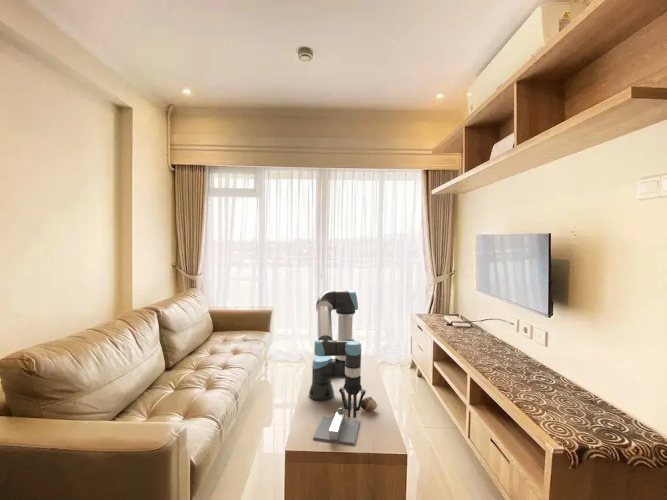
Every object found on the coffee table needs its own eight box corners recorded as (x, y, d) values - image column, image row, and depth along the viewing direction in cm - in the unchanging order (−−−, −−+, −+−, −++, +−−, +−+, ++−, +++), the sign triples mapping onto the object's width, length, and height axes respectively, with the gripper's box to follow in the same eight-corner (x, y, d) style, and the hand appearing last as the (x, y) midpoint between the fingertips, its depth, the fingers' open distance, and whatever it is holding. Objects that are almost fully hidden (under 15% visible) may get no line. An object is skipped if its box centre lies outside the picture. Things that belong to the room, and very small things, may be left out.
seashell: (376, 408, 193) (376, 394, 193) (377, 413, 188) (377, 399, 187) (359, 408, 194) (360, 394, 193) (360, 413, 188) (360, 399, 188)
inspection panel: (322, 417, 183) (323, 415, 183) (360, 422, 179) (360, 420, 179) (313, 439, 163) (313, 436, 163) (354, 445, 159) (354, 442, 159)
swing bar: (337, 416, 181) (337, 405, 181) (345, 417, 180) (345, 406, 180) (328, 439, 160) (329, 427, 160) (337, 441, 160) (337, 428, 159)
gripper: (337, 376, 160) (337, 426, 160) (365, 379, 157) (364, 429, 158) (340, 370, 167) (340, 418, 168) (367, 373, 164) (366, 421, 165)
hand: (351, 423), depth 163 cm, fingers closed
